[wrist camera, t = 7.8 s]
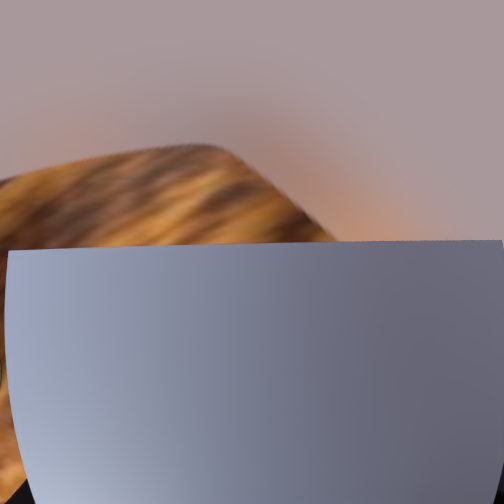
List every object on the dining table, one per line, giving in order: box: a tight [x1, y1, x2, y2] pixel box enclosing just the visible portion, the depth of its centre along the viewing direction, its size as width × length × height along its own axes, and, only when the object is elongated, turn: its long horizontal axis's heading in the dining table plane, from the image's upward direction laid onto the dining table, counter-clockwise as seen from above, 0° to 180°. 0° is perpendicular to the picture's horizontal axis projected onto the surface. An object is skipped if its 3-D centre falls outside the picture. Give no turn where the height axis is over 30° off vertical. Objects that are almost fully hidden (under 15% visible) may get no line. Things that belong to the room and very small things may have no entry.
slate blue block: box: [5, 240, 504, 504], centre depth 8 cm, size 5×5×13 cm
